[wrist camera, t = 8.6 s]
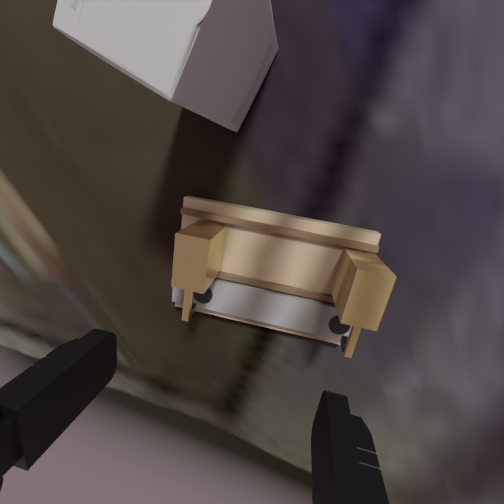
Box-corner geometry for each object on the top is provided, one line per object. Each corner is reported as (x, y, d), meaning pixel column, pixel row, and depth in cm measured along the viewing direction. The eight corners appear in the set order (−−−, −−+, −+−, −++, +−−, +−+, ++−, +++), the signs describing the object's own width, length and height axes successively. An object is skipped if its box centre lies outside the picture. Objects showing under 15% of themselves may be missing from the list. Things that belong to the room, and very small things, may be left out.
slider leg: (227, 225, 27) (210, 239, 22) (217, 295, 30) (199, 325, 24) (199, 219, 28) (175, 232, 22) (192, 290, 30) (169, 317, 25)
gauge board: (376, 231, 27) (405, 252, 20) (342, 337, 31) (356, 387, 24) (189, 195, 29) (155, 203, 22) (180, 300, 33) (148, 335, 26)
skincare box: (220, 10, 24) (98, -251, 9) (284, 51, 24) (266, -142, 9) (181, 103, 26) (39, 21, 12) (238, 139, 27) (169, 101, 12)
